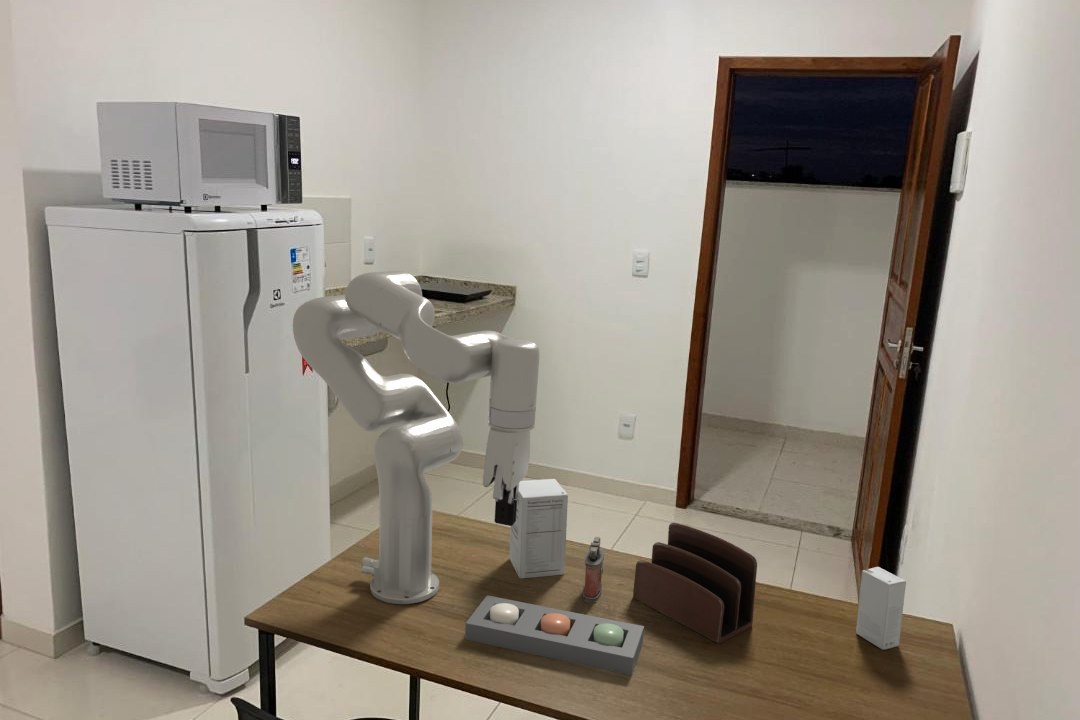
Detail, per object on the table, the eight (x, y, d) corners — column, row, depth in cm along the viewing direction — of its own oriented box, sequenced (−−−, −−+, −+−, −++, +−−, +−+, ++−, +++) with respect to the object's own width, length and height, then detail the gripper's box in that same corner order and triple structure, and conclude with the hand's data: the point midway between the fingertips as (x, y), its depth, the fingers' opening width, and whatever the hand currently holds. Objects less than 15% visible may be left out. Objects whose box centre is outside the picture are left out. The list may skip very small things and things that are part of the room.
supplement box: (552, 554, 164) (556, 477, 161) (565, 575, 156) (570, 494, 152) (507, 558, 162) (510, 480, 159) (518, 579, 153) (522, 496, 150)
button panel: (465, 639, 131) (465, 622, 131) (486, 610, 141) (487, 595, 140) (631, 675, 124) (633, 658, 123) (642, 642, 133) (644, 626, 132)
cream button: (485, 630, 133) (486, 614, 132) (495, 617, 138) (496, 601, 137) (512, 636, 132) (513, 619, 131) (521, 622, 136) (522, 606, 136)
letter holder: (666, 583, 155) (672, 515, 152) (753, 627, 140) (761, 553, 137) (631, 598, 148) (637, 528, 145) (718, 646, 134) (726, 568, 131)
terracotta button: (536, 641, 131) (537, 624, 130) (545, 627, 135) (545, 610, 134) (564, 647, 129) (565, 630, 129) (572, 632, 134) (573, 616, 133)
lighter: (598, 603, 145) (601, 552, 143) (580, 600, 146) (583, 550, 144) (604, 583, 153) (607, 535, 151) (586, 581, 154) (589, 532, 152)
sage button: (589, 652, 128) (591, 635, 127) (596, 637, 133) (597, 621, 132) (619, 658, 127) (620, 641, 126) (624, 643, 131) (626, 626, 131)
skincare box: (899, 646, 136) (909, 580, 133) (881, 651, 134) (890, 585, 131) (871, 628, 141) (879, 565, 139) (852, 633, 139) (861, 569, 137)
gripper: (505, 402, 135) (499, 502, 139) (472, 425, 121) (466, 536, 125) (547, 408, 133) (539, 510, 137) (519, 432, 119) (511, 545, 123)
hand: (505, 522), depth 131 cm, fingers closed
